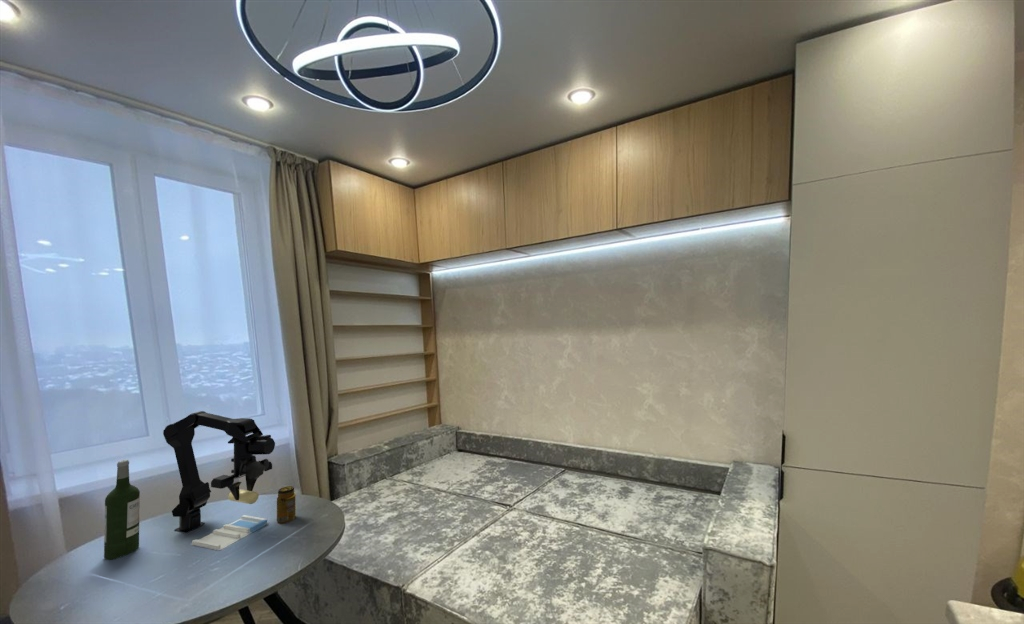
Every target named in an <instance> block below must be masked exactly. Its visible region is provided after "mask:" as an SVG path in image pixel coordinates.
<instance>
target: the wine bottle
mask: <svg viewBox="0 0 1024 624" xmlns="http://www.w3.org/2000/svg"><path fill="white" fill-rule="evenodd" d="M129 465H130V461H129V459H123V460H120V461H117V463H116V467H117V471H116V481H115V483H116V485H115V487H114V488H113V489H112V490H111V491H110V492H109V493H108V494H107V495H106V497H105V499H104V530H103V531H104V537H103V538H104V541H103V542H104V543H103V547H104V549H103V557H104V560H107V561H112V560H116V559H118V558H123V557H125V556H127V555H130V554H131V553H133V552H135V551H137V550H138V549H139V547H140V507H141V506H140V505H141V504H140V502H141V501H140V500H141V499H140V497H141V495H140V493H141V492H140V489H139V488H138V487H137V486H135V485H133V484H131V483H130V466H129Z"/></svg>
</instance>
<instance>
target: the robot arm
mask: <svg viewBox="0 0 1024 624" xmlns="http://www.w3.org/2000/svg"><path fill="white" fill-rule="evenodd" d="M199 426H202V427H206V428H211V429H214V430H215V429H216V430H219V431H223V432H225V434H226V435H227V436H230V437H232V438H231V439H229V440H228V441H227V444H233V458H231V463H233V469H231V471H230V472H231V475H227V474H223V475H220V476H217V477H215V478H212V480H211V481H210V483H209V482H203V481H202V480H201V478H200V475H199V474H200V473H199V470H198V464H197V460H196V458H195V452H194V447H193V440H194V438H195V435H196V434H195V433H196V431H195V429H197V428H198V427H199ZM162 433H163V437H164V440H165V441H166V443H167V444H168V446H170V447H172V448H173V451H174V455H175V459H176V462H177V467H178V473H179V475H180V481H181V485H182V487H181V490H180V493H179V495H178V499H179V501H178V504H176V506H175V507H174V508H173V509H172V510H171V514H172V517H174V518H175V517H176V518H179V519H178V522H179V526H178V527H177V528H175V529H174V530H173V531H174V532H180V533H184V534H187V533H188V532H191V531H193V530H196V529H198V528H200V527H201V526H204V525H205V524H206V522H202V517H201V516H202V515H201V508H203V507H205V506H207V503H208V500H209V499H210V498H211V493H212V490H211V489H210V488H215V489H221V490H222V489H225V488H227V489H229V491H230V492H231V493H232V494H233V496H234V498H235V499H236V500H239V489H240V486H241V484H242V481H240V480H239V479H240V478H242V477H244V478H245V486H246V490H247V491H253V489H254V487H255V485H256V483H257V480H258V479H259V478H260V477H261V476H262V475H264V472H268V471H270V470H273V463H272V461H270V460H269V459H267V458H264V459H262V460H257V457H256V455H258V456H259V455H260V456H261V455H270V454H272V453H273V452H274V450H275V446H276V442H275V439H274V438H272V434H265V435H264V434H263V431H261V429H260V428H259V427H258V425H257V423H256V422H255V420H254V419H253V418H250V417H249V418H248V417H247V418H246V417H244V418H243V417H239V418H231V417H226V416H222V415H217V414H214V413H209V412H206V411H204V410H199V411H195V412H192V413H190V414H188V415H187V416H186V417H184V418H182V419H180V420H178V421H176V422H173V423H170V424H167V425H166V426H165V428H164V429H163V431H162Z"/></svg>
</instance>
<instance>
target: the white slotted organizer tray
mask: <svg viewBox="0 0 1024 624" xmlns="http://www.w3.org/2000/svg"><path fill="white" fill-rule="evenodd" d="M269 523H270V522H268V518H263V517H258V516H252V515H243V514H242V515H241V518H239V519H237V520H235V521H234V522H231V523H229V524H228V523H226V524H223V527H221V528H219V529H217V528H215V529H214V530H212V532H211V533H209V534H208V535H205V536H203V537H202V538H199V539H197V538H196V539H193V540H192V541H191V543H190V545H192V546H196V547H200V548H205V549H210V550H215V551H221V550H224V549H225V548H227V547H229V546H230V545H232V544H234V543H236V542H238V541H240V540H241V539H243V538H245V537H247V536H248V535H251V534H252V533H254V532H255V531H257V530H260V529H261V528H263V527H264V526H266V525H268V524H269Z"/></svg>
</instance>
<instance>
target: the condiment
mask: <svg viewBox="0 0 1024 624" xmlns="http://www.w3.org/2000/svg"><path fill="white" fill-rule="evenodd" d="M296 511H297V510H296V493H295V487H294V486H292V485H287V486H283V487H281V488H279V489H278V492H277V498H276V522H277V524H279V525H283V524H287V523H291V522H292V521H294V520H295V518H296V514H297V513H296Z"/></svg>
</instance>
